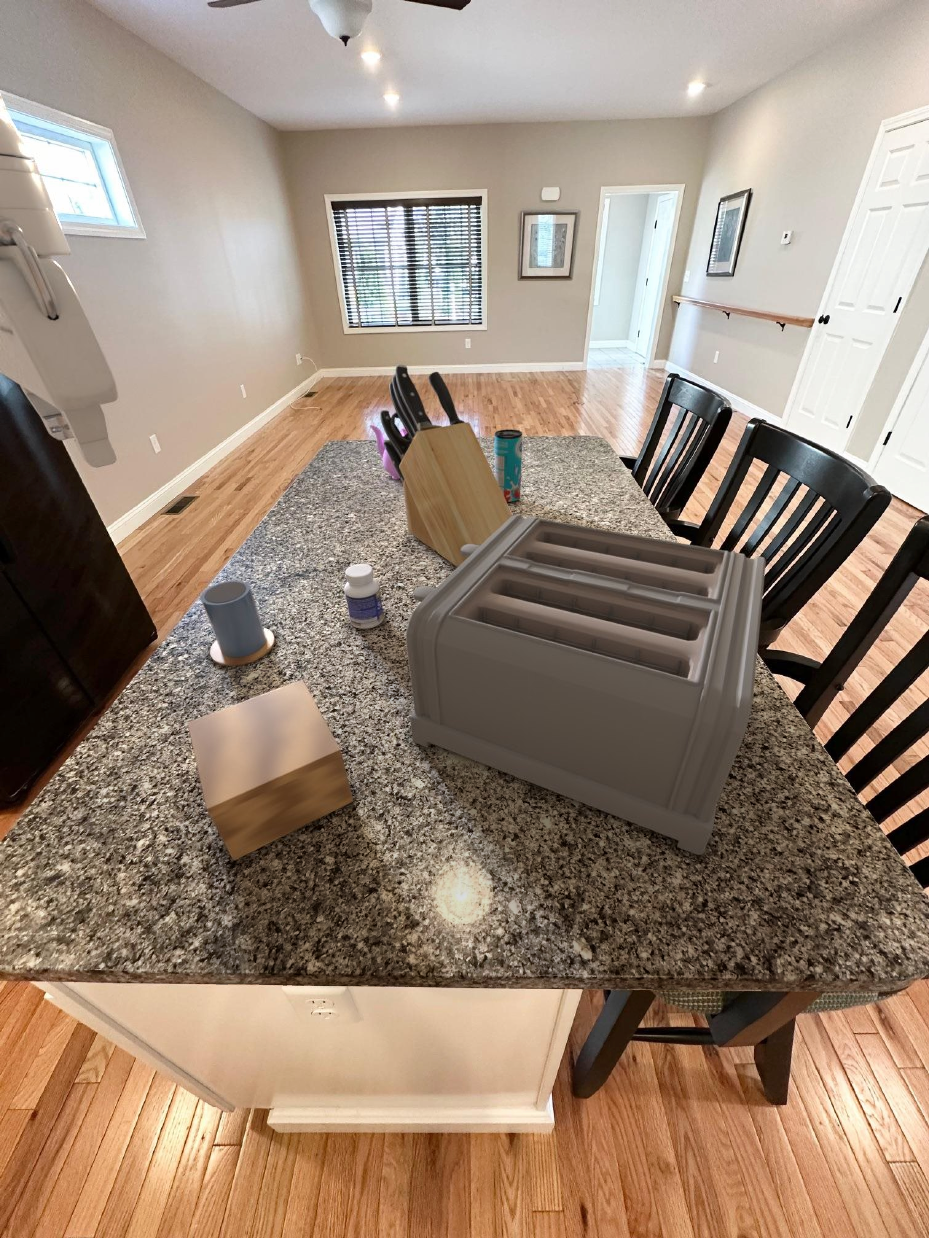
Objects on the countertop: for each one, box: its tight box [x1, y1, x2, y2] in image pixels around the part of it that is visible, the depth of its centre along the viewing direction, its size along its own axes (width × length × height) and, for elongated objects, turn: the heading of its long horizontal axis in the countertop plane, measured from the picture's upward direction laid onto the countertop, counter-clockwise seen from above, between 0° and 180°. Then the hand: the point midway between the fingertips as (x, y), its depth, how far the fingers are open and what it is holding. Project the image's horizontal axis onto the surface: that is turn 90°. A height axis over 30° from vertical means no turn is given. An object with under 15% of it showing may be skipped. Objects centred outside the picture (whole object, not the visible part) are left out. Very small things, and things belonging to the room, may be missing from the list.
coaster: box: [209, 627, 276, 667], centre depth 75 cm, size 9×9×1 cm
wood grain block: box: [186, 678, 354, 861], centre depth 53 cm, size 12×12×8 cm
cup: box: [200, 579, 266, 658], centre depth 73 cm, size 6×6×9 cm
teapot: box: [369, 424, 407, 480], centre depth 131 cm, size 20×14×12 cm
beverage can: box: [494, 428, 523, 505], centre depth 114 cm, size 6×6×15 cm
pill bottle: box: [343, 563, 385, 630], centre depth 78 cm, size 5×5×9 cm
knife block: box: [379, 364, 514, 568], centre depth 93 cm, size 11×35×31 cm, turn 33°
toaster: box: [405, 514, 767, 856], centre depth 60 cm, size 31×36×17 cm
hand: (83, 449), depth 40 cm, fingers open, 8 cm apart
